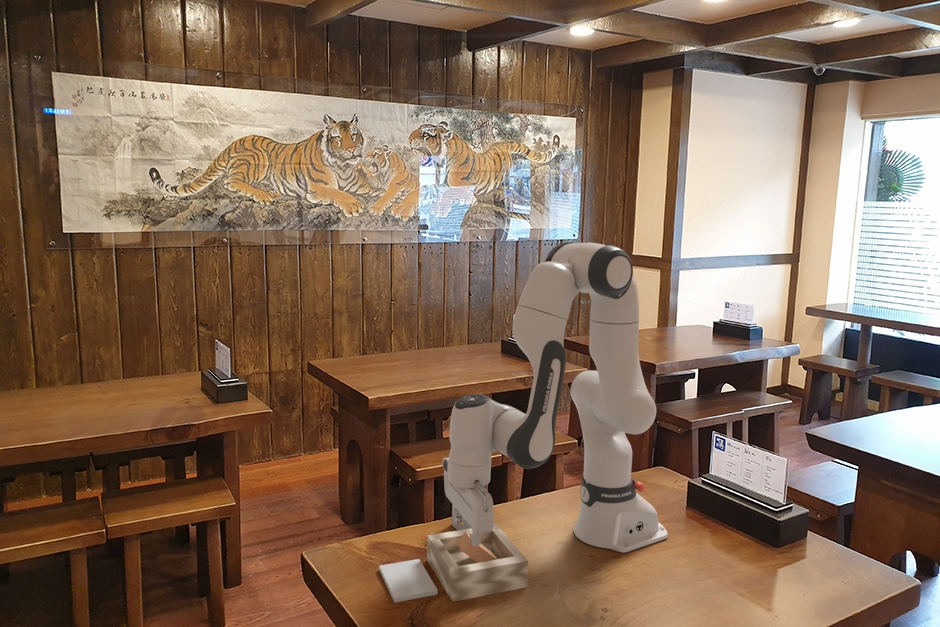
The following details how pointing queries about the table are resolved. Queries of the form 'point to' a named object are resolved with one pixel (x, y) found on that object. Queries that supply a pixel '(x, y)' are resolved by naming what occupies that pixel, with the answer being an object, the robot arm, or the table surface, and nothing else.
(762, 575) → the table surface
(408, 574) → the mat
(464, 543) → the bar
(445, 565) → the pocket block
